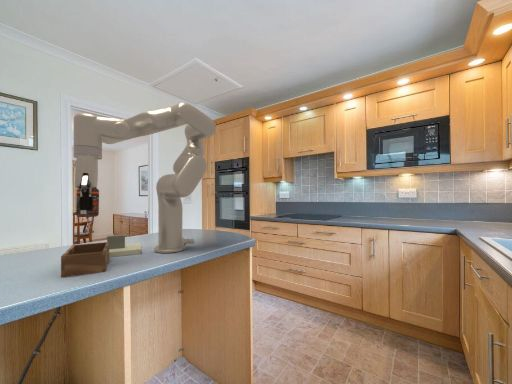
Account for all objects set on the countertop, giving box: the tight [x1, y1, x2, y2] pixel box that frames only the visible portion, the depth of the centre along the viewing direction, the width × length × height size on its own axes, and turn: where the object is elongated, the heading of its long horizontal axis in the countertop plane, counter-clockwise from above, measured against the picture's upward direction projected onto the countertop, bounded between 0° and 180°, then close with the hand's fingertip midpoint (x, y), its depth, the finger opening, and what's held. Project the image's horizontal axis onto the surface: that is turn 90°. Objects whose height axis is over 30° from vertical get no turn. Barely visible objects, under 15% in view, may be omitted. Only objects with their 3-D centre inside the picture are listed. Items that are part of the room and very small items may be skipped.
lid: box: [106, 233, 143, 258], centre depth 93 cm, size 18×13×7 cm
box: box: [60, 241, 110, 278], centre depth 76 cm, size 16×11×6 cm
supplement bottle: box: [75, 186, 100, 218], centre depth 75 cm, size 6×6×11 cm
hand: (87, 208), depth 75 cm, fingers closed on supplement bottle, 6 cm apart
